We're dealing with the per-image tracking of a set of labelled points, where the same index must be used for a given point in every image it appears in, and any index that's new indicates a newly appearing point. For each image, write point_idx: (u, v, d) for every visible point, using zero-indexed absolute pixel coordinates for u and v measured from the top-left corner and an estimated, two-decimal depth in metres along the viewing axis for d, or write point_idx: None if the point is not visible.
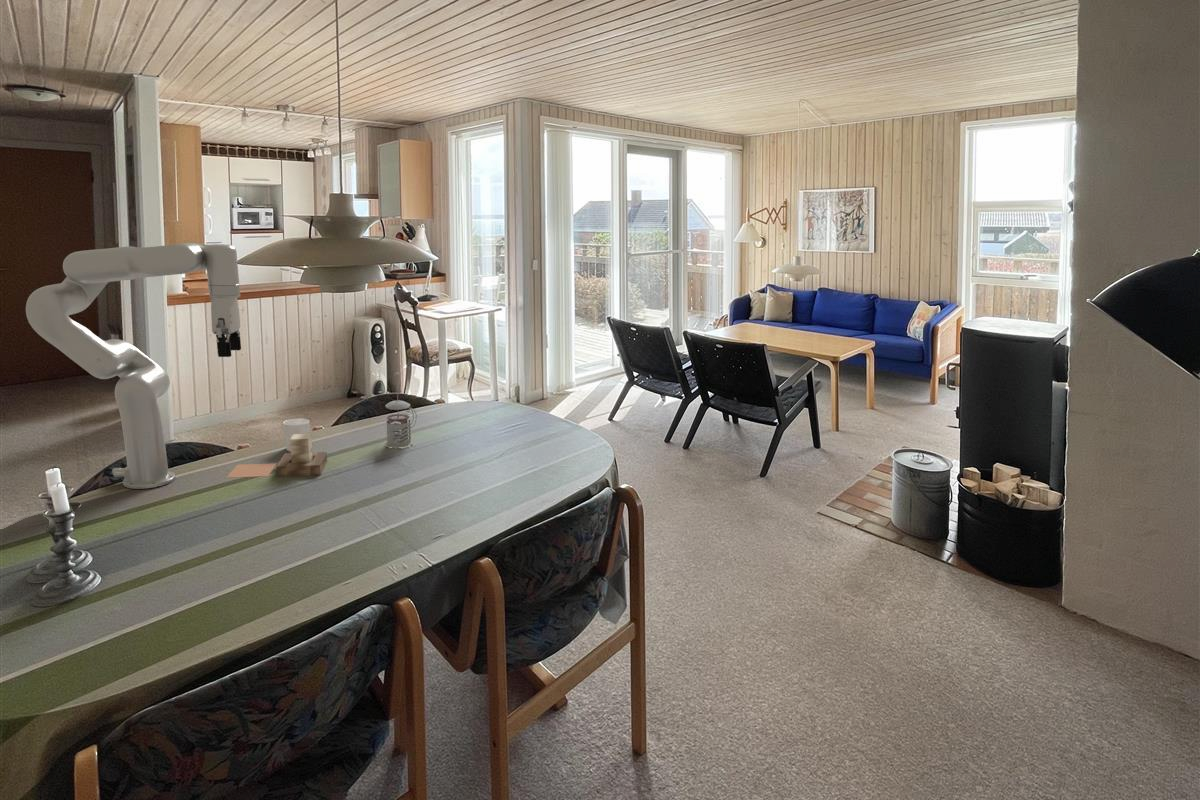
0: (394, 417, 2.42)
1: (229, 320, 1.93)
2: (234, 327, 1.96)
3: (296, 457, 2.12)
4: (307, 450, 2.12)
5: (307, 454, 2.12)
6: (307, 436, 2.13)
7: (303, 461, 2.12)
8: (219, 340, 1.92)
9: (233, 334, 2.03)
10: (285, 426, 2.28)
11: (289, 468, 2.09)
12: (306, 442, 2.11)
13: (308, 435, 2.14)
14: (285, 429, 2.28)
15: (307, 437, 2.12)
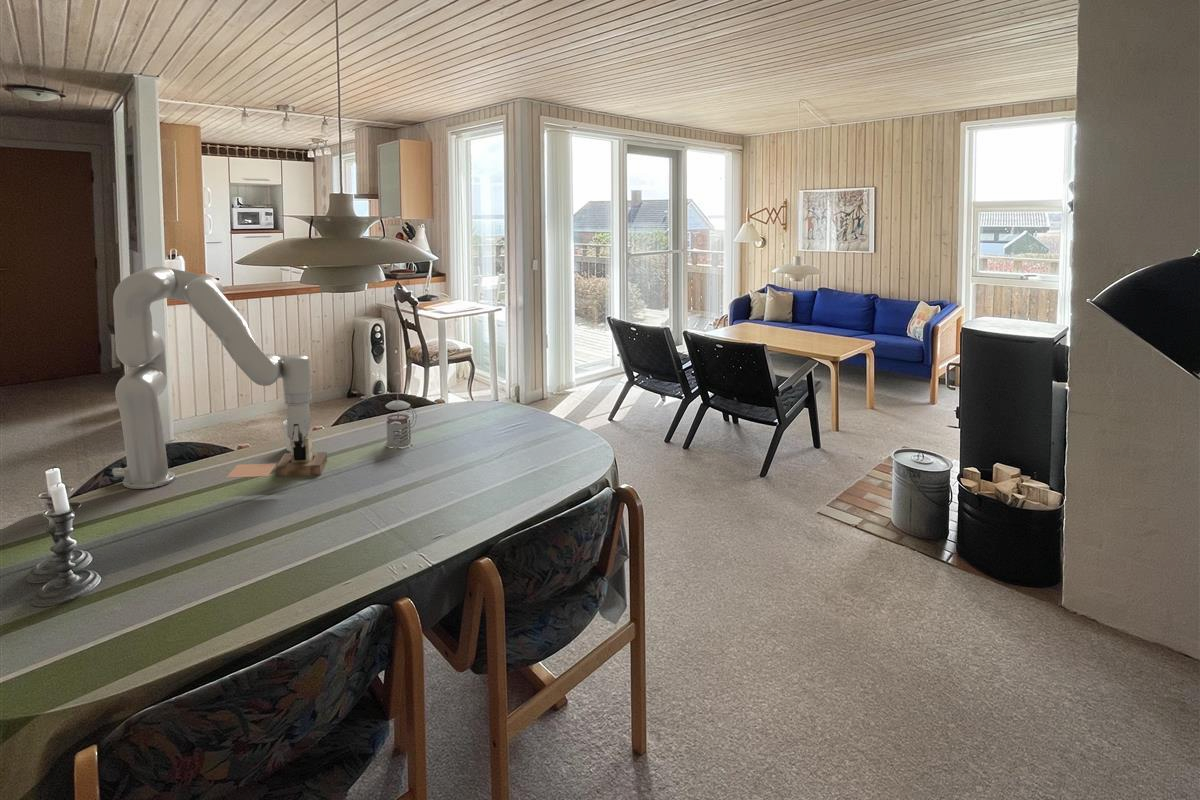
0: (394, 417, 2.42)
1: (303, 425, 2.08)
2: (307, 430, 2.11)
3: None
4: (307, 450, 2.12)
5: (307, 454, 2.12)
6: (307, 436, 2.13)
7: (303, 461, 2.12)
8: (296, 446, 2.09)
9: None
10: (285, 426, 2.28)
11: (289, 468, 2.09)
12: (306, 442, 2.11)
13: (308, 435, 2.14)
14: (285, 429, 2.28)
15: (307, 437, 2.12)
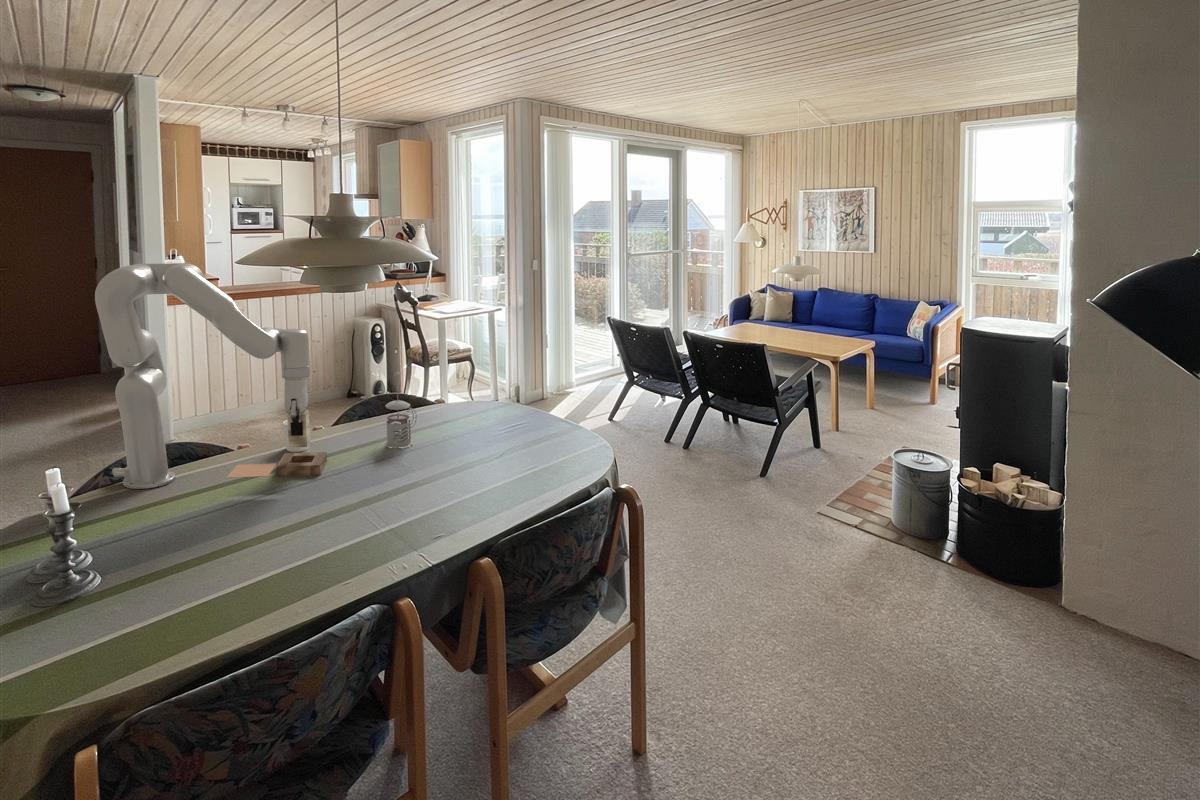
0: (394, 417, 2.42)
1: (301, 400, 2.06)
2: (304, 405, 2.09)
3: None
4: (304, 426, 2.10)
5: (304, 430, 2.10)
6: (304, 411, 2.12)
7: (300, 437, 2.10)
8: (293, 421, 2.07)
9: None
10: (285, 426, 2.28)
11: (289, 468, 2.09)
12: (303, 417, 2.09)
13: (306, 411, 2.12)
14: (285, 429, 2.28)
15: (305, 413, 2.10)
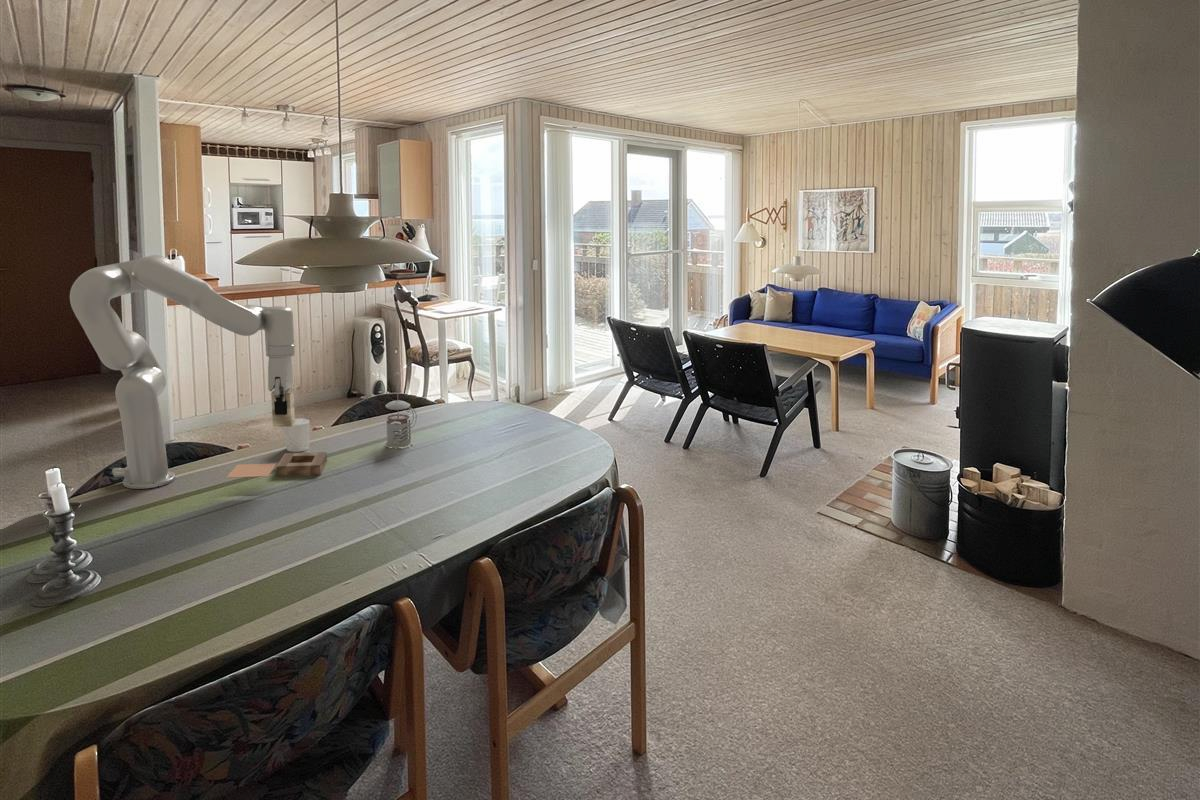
0: (394, 417, 2.42)
1: (285, 378, 2.03)
2: (288, 384, 2.07)
3: None
4: (289, 405, 2.08)
5: (288, 409, 2.08)
6: (289, 390, 2.09)
7: (284, 416, 2.08)
8: (277, 400, 2.05)
9: None
10: None
11: (289, 468, 2.09)
12: (288, 396, 2.07)
13: (290, 390, 2.10)
14: (285, 429, 2.28)
15: (289, 391, 2.08)
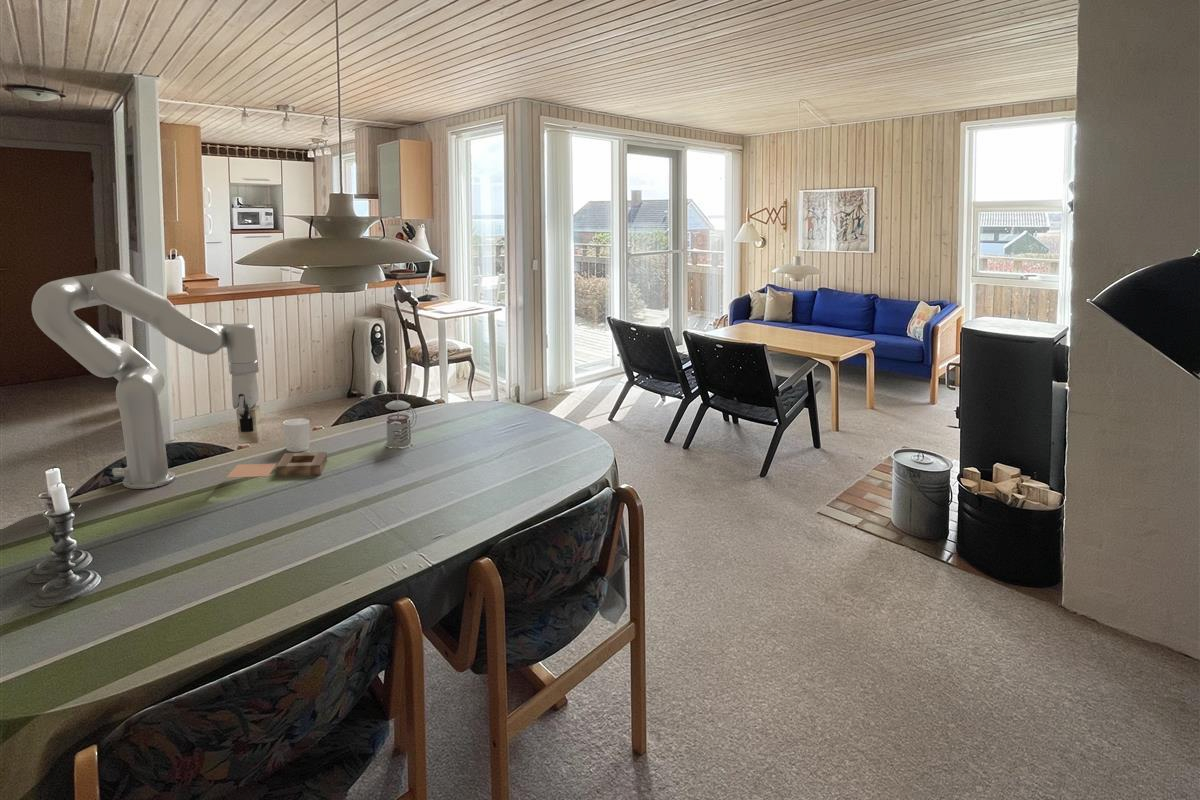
0: (394, 417, 2.42)
1: (249, 396, 2.03)
2: (253, 401, 2.06)
3: None
4: (254, 421, 2.07)
5: (254, 425, 2.07)
6: (254, 407, 2.08)
7: (250, 433, 2.07)
8: (242, 417, 2.04)
9: None
10: (285, 426, 2.28)
11: (289, 468, 2.09)
12: (253, 413, 2.06)
13: (256, 406, 2.09)
14: (285, 429, 2.28)
15: (254, 408, 2.07)
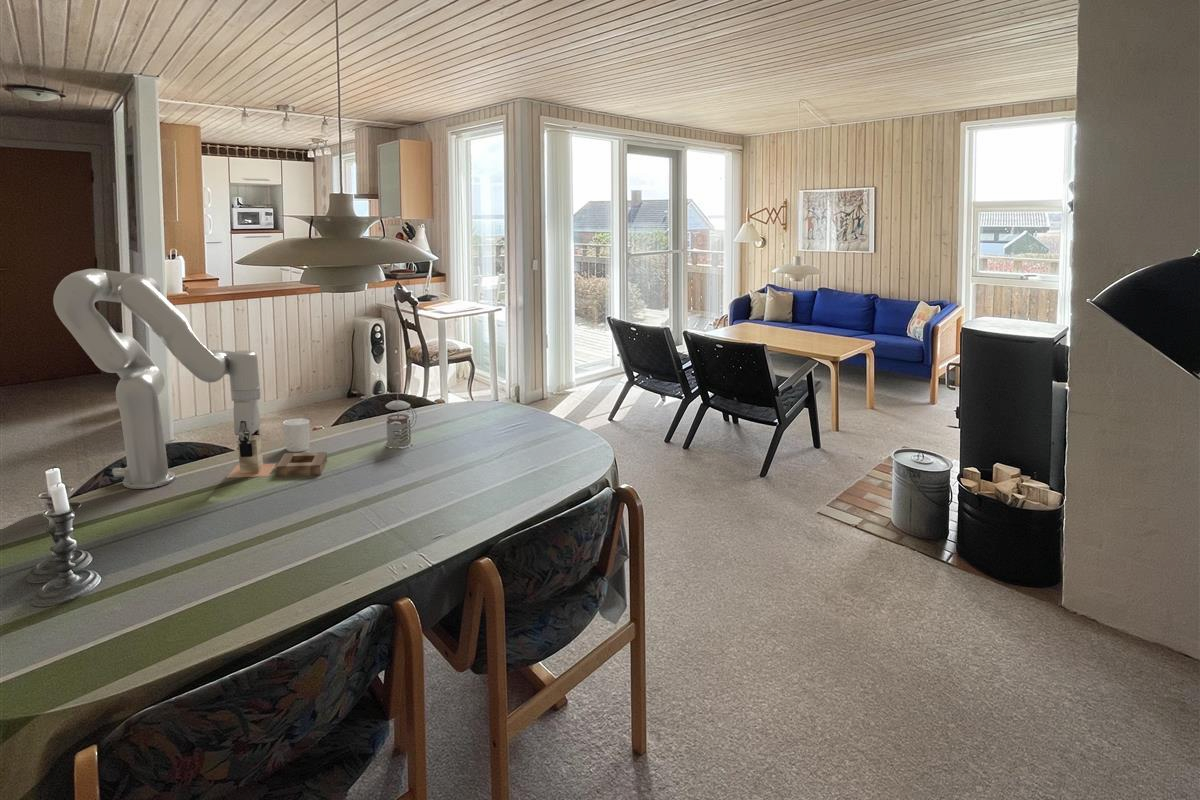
0: (394, 417, 2.42)
1: (250, 422, 2.05)
2: (255, 427, 2.08)
3: (245, 458, 2.09)
4: (255, 451, 2.09)
5: (255, 456, 2.09)
6: (255, 437, 2.11)
7: (251, 463, 2.09)
8: (241, 442, 2.04)
9: None
10: (285, 426, 2.28)
11: (289, 468, 2.09)
12: (254, 443, 2.08)
13: (257, 436, 2.11)
14: (285, 429, 2.28)
15: (255, 438, 2.09)
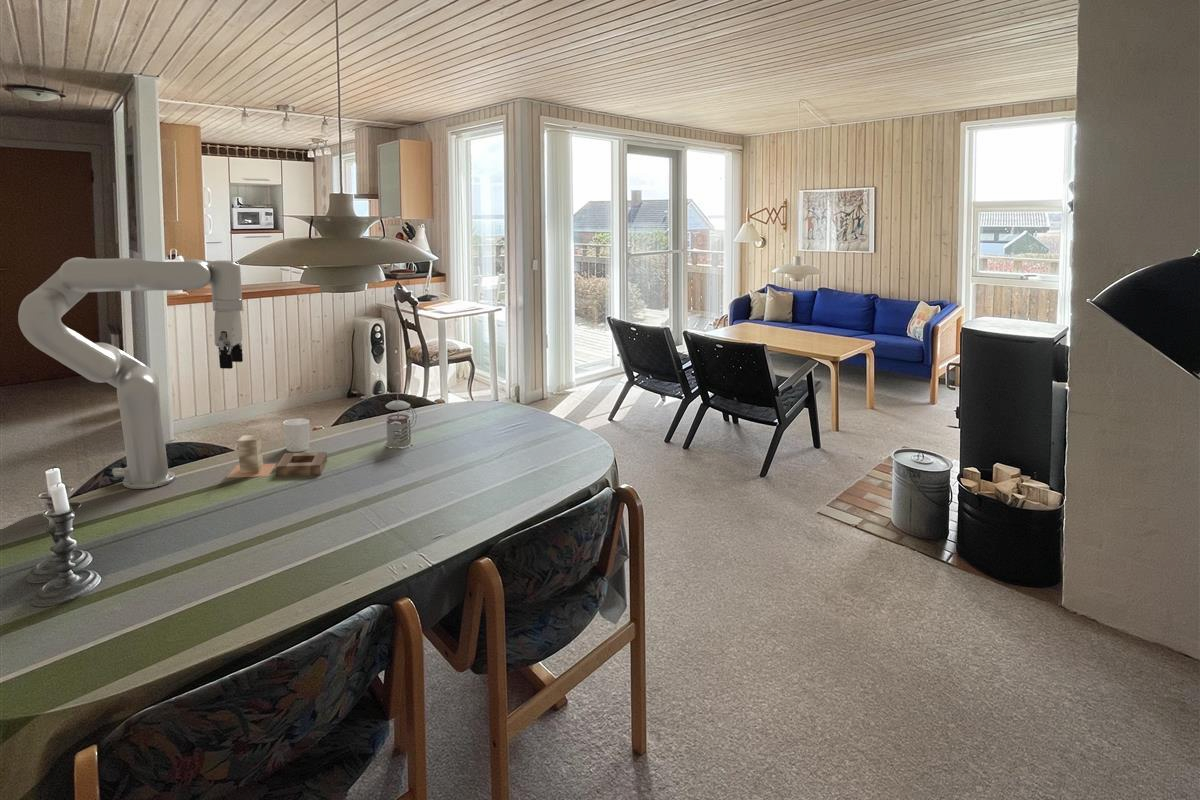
0: (394, 417, 2.42)
1: (231, 333, 2.01)
2: (236, 340, 2.04)
3: (245, 458, 2.09)
4: (255, 451, 2.09)
5: (255, 456, 2.09)
6: (255, 437, 2.11)
7: (251, 463, 2.09)
8: (221, 352, 2.00)
9: (235, 346, 2.11)
10: (285, 426, 2.28)
11: (289, 468, 2.09)
12: (254, 443, 2.08)
13: (257, 436, 2.11)
14: (285, 429, 2.28)
15: (255, 438, 2.09)
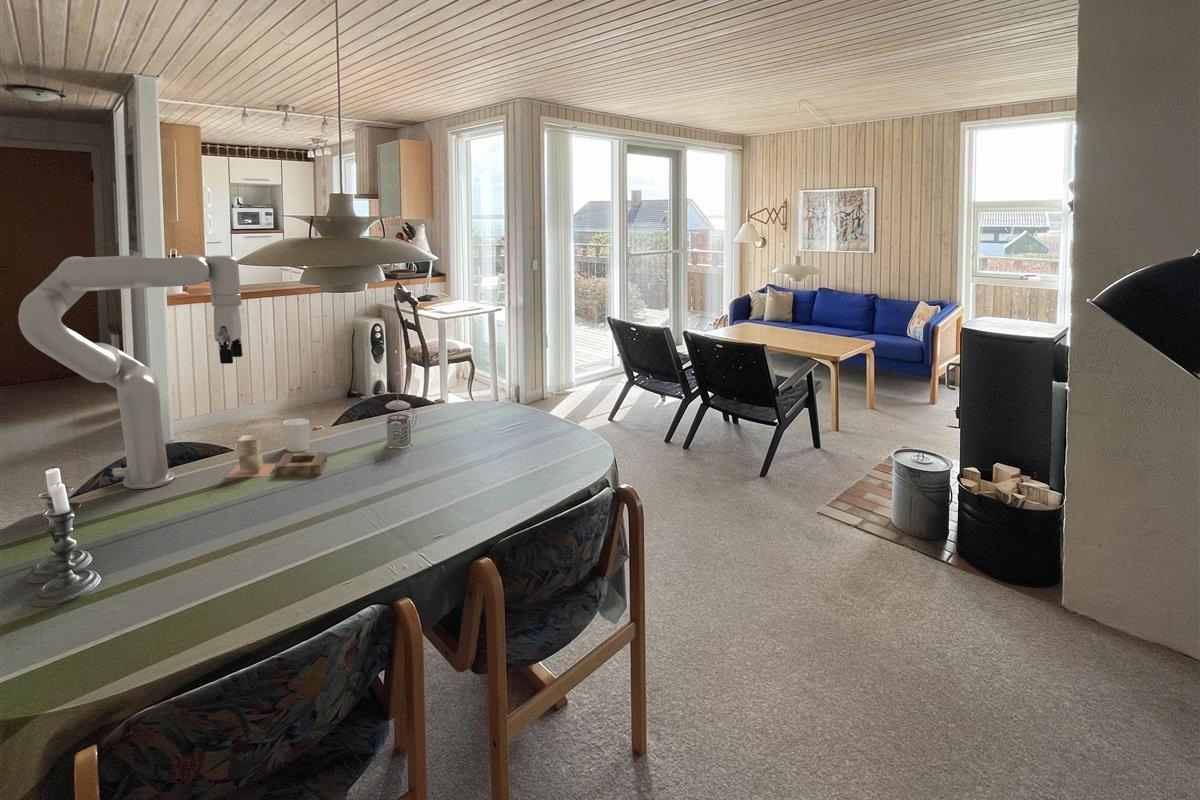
0: (394, 417, 2.42)
1: (231, 328, 2.01)
2: (236, 335, 2.04)
3: (245, 458, 2.09)
4: (255, 451, 2.09)
5: (255, 456, 2.09)
6: (255, 437, 2.11)
7: (251, 463, 2.09)
8: (221, 347, 2.00)
9: (235, 341, 2.11)
10: (285, 426, 2.28)
11: (289, 468, 2.09)
12: (254, 443, 2.08)
13: (257, 436, 2.11)
14: (285, 429, 2.28)
15: (255, 438, 2.09)
